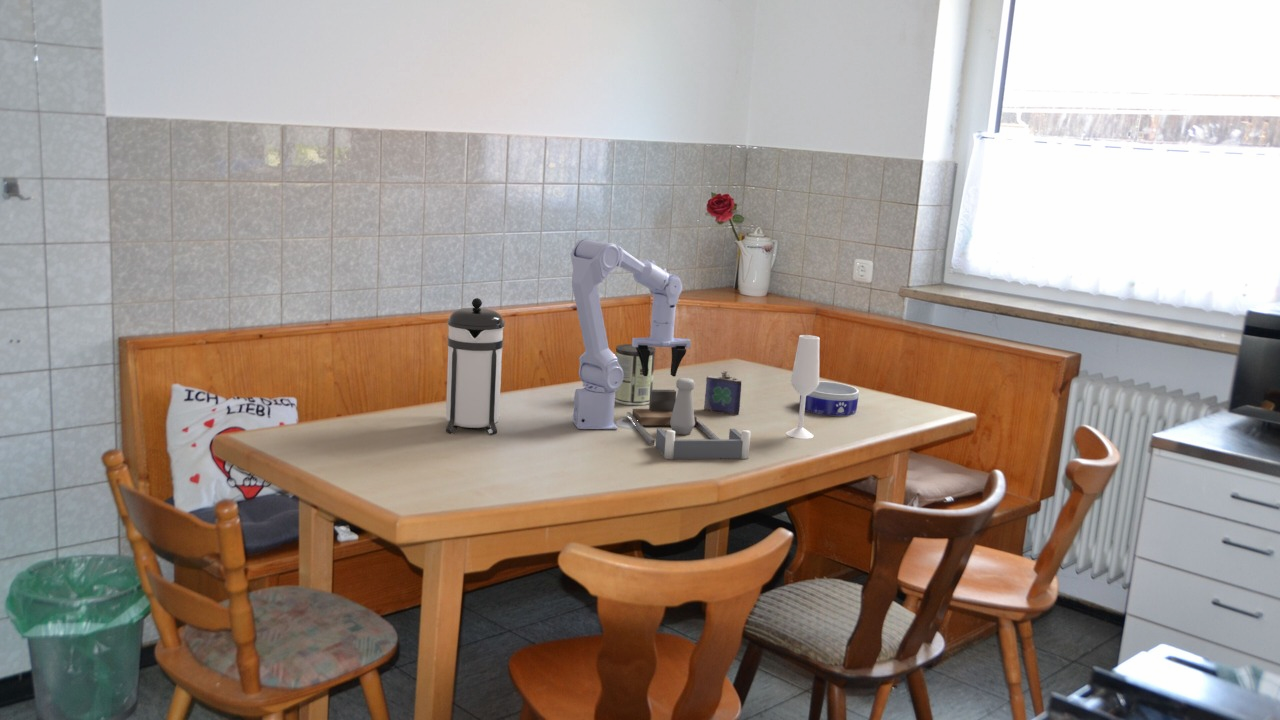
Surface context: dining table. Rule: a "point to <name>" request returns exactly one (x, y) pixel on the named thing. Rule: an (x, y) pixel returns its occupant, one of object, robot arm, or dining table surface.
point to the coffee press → (474, 368)
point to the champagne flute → (805, 377)
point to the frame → (703, 446)
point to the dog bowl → (832, 399)
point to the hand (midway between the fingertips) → (659, 375)
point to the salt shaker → (683, 408)
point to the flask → (723, 394)
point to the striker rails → (651, 440)
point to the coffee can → (634, 376)
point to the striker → (658, 408)
